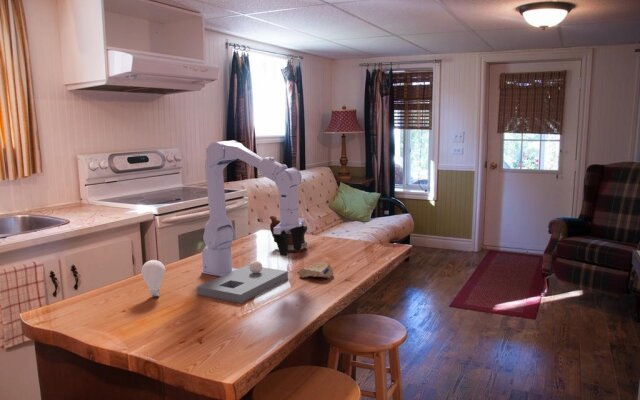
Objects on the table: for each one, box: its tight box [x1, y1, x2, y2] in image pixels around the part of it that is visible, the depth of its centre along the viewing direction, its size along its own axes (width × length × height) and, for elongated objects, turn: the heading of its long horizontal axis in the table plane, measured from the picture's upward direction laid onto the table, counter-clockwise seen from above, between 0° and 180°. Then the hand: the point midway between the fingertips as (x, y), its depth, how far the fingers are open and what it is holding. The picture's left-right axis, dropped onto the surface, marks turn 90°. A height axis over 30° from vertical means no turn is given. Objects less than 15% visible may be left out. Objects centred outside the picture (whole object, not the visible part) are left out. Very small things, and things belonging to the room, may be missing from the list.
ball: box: [249, 260, 263, 273], centre depth 160 cm, size 4×4×4 cm
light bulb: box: [140, 259, 166, 298], centre depth 148 cm, size 7×7×11 cm
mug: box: [269, 215, 308, 254], centre depth 198 cm, size 12×14×15 cm
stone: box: [297, 261, 334, 279], centre depth 164 cm, size 8×10×4 cm
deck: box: [196, 264, 289, 304], centre depth 156 cm, size 16×24×2 cm, turn 150°
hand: (290, 252), depth 155 cm, fingers open, 7 cm apart
